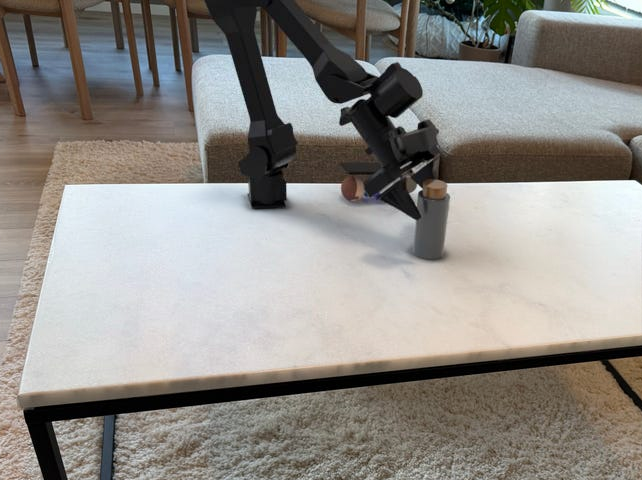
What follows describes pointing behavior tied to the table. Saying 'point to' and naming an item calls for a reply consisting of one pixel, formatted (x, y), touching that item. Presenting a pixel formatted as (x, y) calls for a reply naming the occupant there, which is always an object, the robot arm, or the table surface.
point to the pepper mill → (431, 220)
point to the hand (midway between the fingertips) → (431, 210)
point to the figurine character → (355, 185)
